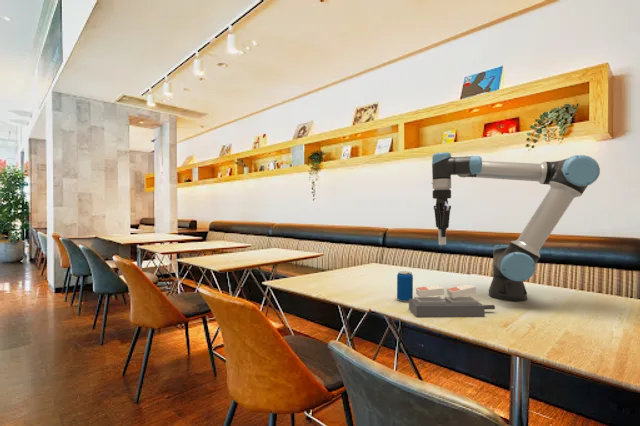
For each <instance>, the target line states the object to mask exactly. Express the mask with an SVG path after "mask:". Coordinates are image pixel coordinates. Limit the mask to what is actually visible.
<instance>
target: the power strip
mask: <svg viewBox="0 0 640 426" xmlns="http://www.w3.org/2000/svg"><path fill="white" fill-rule="evenodd" d="M408 310H410V312H411V314H413V315H414V316H415V317H416V318H473V317H474V318H475V317H476V318H477V317H478V318H479V317H483V318H484V317H485V313H486V312H485V310H496V306H495V305H494V304H483V303H481V302H479V301H478V300H477V299H475V298H474V297H472V296H462V297H457V298H452V297H450V296H444V298H442V297H441V296H429V297H419V296H414V297H413V299H409V302H408Z"/></svg>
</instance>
